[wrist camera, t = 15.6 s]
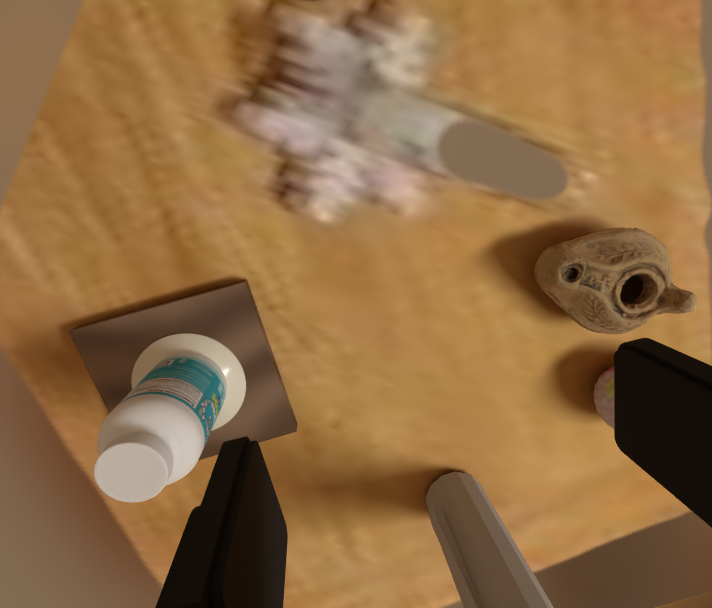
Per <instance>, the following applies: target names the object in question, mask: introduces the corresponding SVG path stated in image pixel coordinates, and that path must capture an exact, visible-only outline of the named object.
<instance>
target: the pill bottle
mask: <svg viewBox="0 0 712 608" xmlns="http://www.w3.org/2000/svg"><path fill="white" fill-rule="evenodd" d="M226 393H227V383H226V379H225V376H224V374H223V372H222V370H221V369H220V367H219V366H218V365H217V364H216V363H215V362H214V361H212V360H211V359H209V358H208V357H206V356H204V355H201V354H197V353H192V352H182V353H176V354H173V355H170V356H168V357H166V358H164V359H163V360H161V361H160V362H159V363H158V364H157V365H156V366H155V367H154V368H153V369H152V370H151V371H150V372H149V373H148V374H147V375H146V376H145V377H144V378H143V379H142V380H141V381H140V382H139V383H138V385H137V386H136V387H135V388H134V389H133V390H132V391H131V392H130V393H129V394H128V395H127V396H126V397H125V398H124V399H123V400H122V401H121V402H120V403H119V404H118V405H117V406H116V407H115V408H114V409H113V410H112V412H111V413H110V414H109V415H108V416H107V417H106V419H105V420H104V422H103V424H102V426H101V428H100V431H99V435H98V452H99V457H98V459H97V461H96V463H95V467H94V476H95V480H96V482H97V484H98V486H99V487H100V489H101V490H102V491H103V492H104V493H106V494H107V495H108V496H110V497H112V498H114V499H116V500H119V501H123V502H142V501H145V500H148V499H150V498H152V497H154V496H156V495H157V494H158V493H159V492H160V491H161V490H162V489H163V488H164V486H166V485H169V484H172V483H174V482H176V481H178V480H180V479H181V478H183V477H184V476H185V475H187V474H188V473H189V472H190V471H191V470H192V469H193V467H194V466H195V465H196V463H197V462H198V460H199V458H200V455H201V453H202V451H203V449H204V446H205V444H206V442H207V439H208V437H209V435H210V433H211V430H212V428H213V426H214V423H215V421H216V419H217V417H218V414H219V412H220V410H221V407H222V405H223V403H224V400H225V398H226Z"/></svg>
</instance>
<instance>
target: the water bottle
mask: <svg viewBox="0 0 712 608" xmlns="http://www.w3.org/2000/svg"><path fill="white" fill-rule="evenodd" d="M425 499H426V504H427V509H428V512H429V516H430V520H431V523H432V526H433V529H434V531H435V533H436V535H437V538H438V540H439V542H440V545H441V547H442V550H443V553H444V555H445V558H446V561H447V563H448V566H449V569H450V571H451V574H452V577H453V579H454V582H455V585H456V587H457V590H458V593H459V595H460V598H461V601H462V604H463V606H464V608H553V606H552V605H551V603H550V601H549V599H548V598H547V596H546V594H545V593H544V591H543V589H542V588H541V586H540V584H539V582H538V581H537V579H536V577H535V576H534V574H533V572H532V571H531V569H530V567H529V566H528V564H527V562H526V560H525V559H524V557H523V555H522V554H521V552H520V550H519V549H518V547H517V545H516V544H515V542H514V540H513V539H512V537H511V535H510V534H509V532H508V530H507V528H506V527H505V525H504V523H503V522H502V520H501V518H500V517H499V515H498V513H497V512H496V510H495V508H494V507H493V505H492V503H491V501H490V500H489V498H488V496H487V495H486V493H485V491H484V490H483V488H482V486H481V485H480V483H479V482H478V481H477V480H476V479H475V478H474V477H473V476H472V475H470V474H465V473H461V472H456V471H455V472H451V473H447V474H443V475H441V476H440V477H439V478H438V479H437V480H436V481H435V482H434V483H432V484H431V486H430V488H429V491H428V493H427V495H426V498H425Z"/></svg>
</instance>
